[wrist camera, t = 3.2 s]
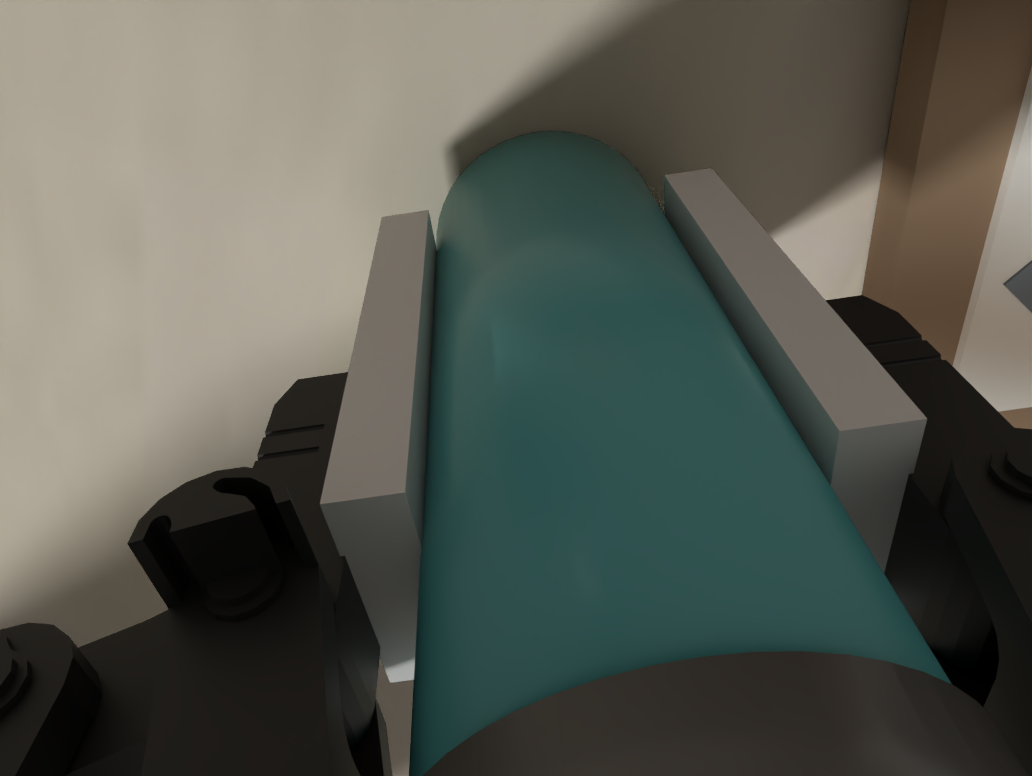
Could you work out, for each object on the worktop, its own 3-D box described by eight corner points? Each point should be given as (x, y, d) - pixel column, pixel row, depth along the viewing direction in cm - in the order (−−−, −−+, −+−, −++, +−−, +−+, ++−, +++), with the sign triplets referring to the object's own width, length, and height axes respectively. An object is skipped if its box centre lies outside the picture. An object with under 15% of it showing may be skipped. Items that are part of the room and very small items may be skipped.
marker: (408, 145, 12) (211, 1301, 2) (661, 107, 12) (1563, 1140, 2) (453, 356, 15) (449, 1357, 5) (664, 326, 14) (1102, 1279, 5)
